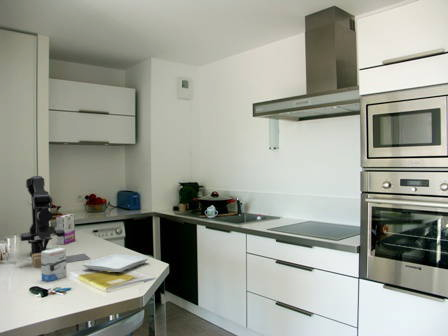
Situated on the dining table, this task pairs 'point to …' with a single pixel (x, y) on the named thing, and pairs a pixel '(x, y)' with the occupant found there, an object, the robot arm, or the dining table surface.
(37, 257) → the deck
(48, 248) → the sage green tile
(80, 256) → the mat
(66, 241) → the candy bar box
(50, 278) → the ink box
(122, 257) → the salad plate
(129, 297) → the dining table surface
